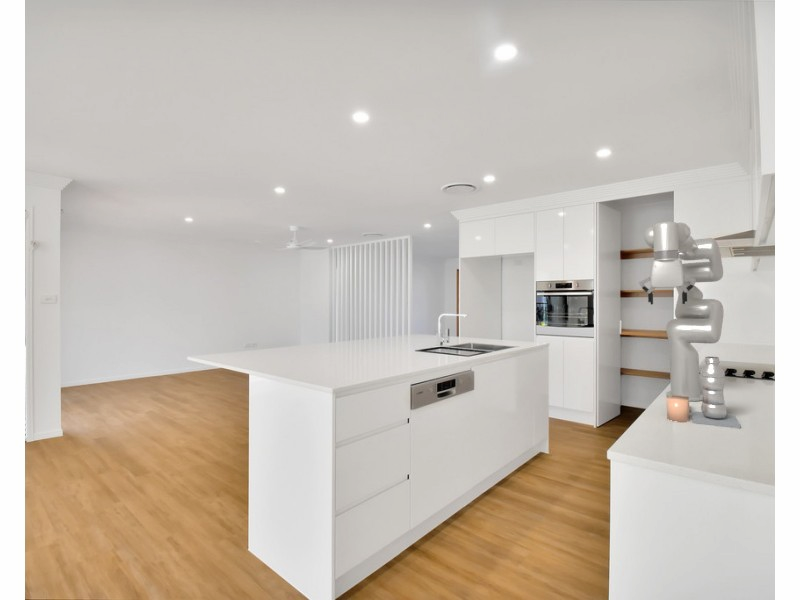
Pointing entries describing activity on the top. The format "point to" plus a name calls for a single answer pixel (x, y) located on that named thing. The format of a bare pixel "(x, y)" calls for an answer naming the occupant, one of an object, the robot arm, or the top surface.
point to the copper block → (683, 397)
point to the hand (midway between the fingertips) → (667, 304)
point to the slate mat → (715, 420)
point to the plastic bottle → (713, 389)
